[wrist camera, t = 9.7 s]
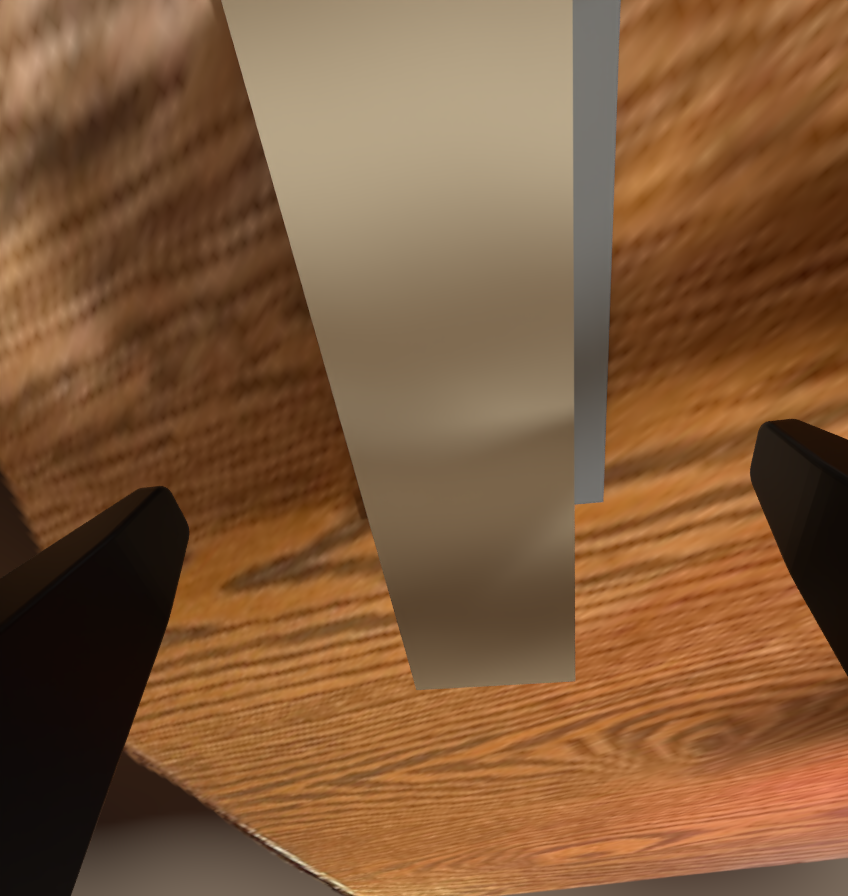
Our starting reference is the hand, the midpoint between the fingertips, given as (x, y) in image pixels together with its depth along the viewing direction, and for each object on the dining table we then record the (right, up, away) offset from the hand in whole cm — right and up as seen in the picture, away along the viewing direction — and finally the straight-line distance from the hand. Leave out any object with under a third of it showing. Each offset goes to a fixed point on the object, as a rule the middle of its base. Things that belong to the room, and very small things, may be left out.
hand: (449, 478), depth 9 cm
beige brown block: (+1, +7, +9) cm, 12 cm away
